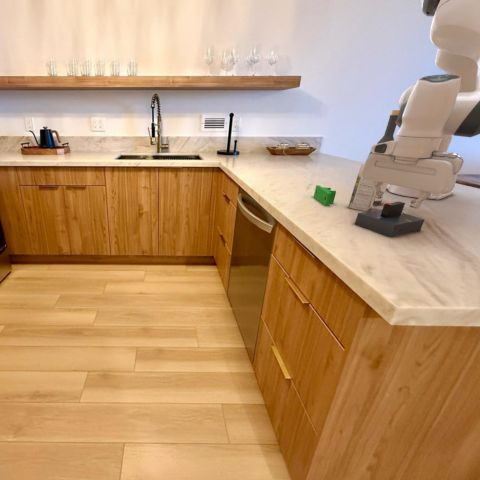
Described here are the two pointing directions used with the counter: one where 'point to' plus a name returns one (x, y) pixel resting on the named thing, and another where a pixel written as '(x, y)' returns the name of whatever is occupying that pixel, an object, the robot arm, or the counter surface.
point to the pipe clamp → (324, 195)
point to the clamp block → (389, 223)
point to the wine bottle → (386, 138)
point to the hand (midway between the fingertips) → (394, 202)
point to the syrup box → (362, 193)
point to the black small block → (392, 209)
